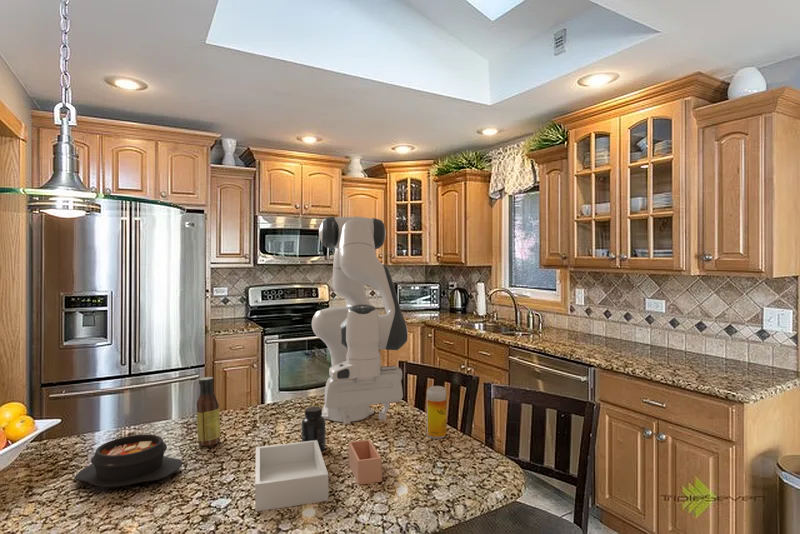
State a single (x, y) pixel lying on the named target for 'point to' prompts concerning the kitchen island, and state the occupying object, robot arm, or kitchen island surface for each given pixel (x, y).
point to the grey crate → (290, 475)
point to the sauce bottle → (207, 414)
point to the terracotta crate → (365, 462)
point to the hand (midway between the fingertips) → (364, 421)
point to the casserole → (129, 462)
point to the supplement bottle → (314, 426)
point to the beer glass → (436, 412)
